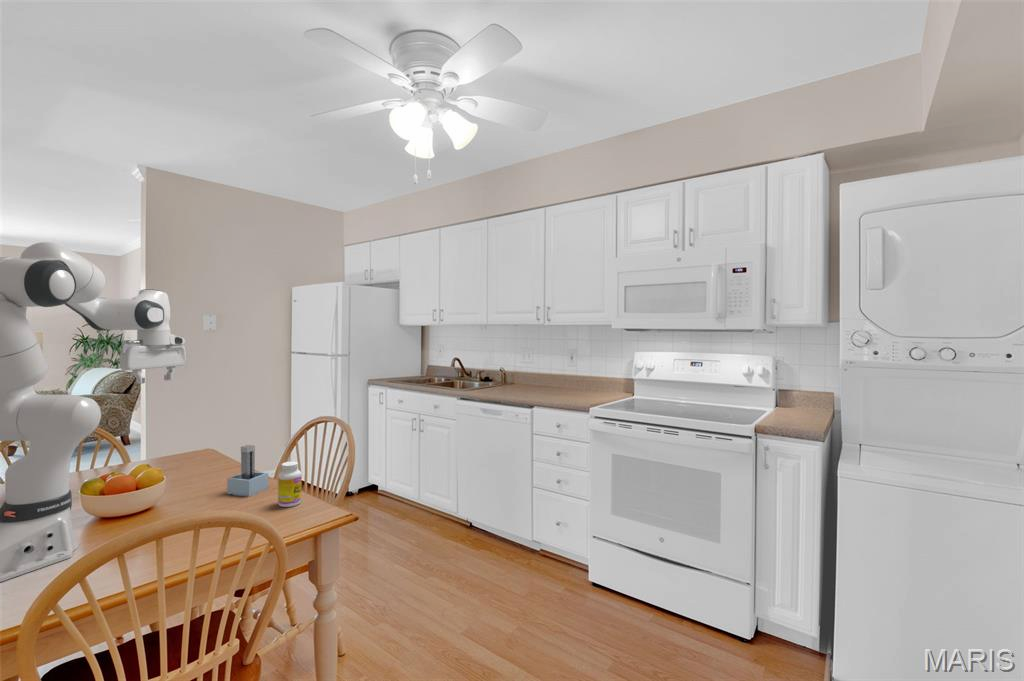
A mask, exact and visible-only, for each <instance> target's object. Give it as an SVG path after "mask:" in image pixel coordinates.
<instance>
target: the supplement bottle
mask: <svg viewBox="0 0 1024 681" xmlns="http://www.w3.org/2000/svg"><path fill="white" fill-rule="evenodd" d="M298 468H299V462H298V461H285V462H283V463H281V470H282V471H280V472H279V473H278V476H277V490H278V492H277V503H278V506H279V507H283V508H290V507H291V508H292V507H295V506H298V505H300V503H301V502H302V472H301V470H299V469H298Z"/></svg>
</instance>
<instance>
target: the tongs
mask: <svg viewBox="0 0 1024 681" xmlns="http://www.w3.org/2000/svg"><path fill="white" fill-rule="evenodd" d="M255 451H256V445H253V444H246V445H242V446H240V456H241V457H240V465H241V466H240V468H241V469H240V470H241V471H240V473H241V479H247V480H250V479H252V478H255V472H256V471H255V470H256V469H255V466H256V465H255V456H256V455H255V454H256V452H255Z"/></svg>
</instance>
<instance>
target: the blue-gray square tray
mask: <svg viewBox="0 0 1024 681" xmlns="http://www.w3.org/2000/svg"><path fill="white" fill-rule="evenodd" d="M226 482H227V483H226V485H227V488H226V489H227V495H230V494H233V495H232V496H238V497H239V496H241V497H249V498H250V497H252V496H255V495H256V494H259V493H260V492H263V491H265V490H268V489H269V472H264V471H263V472H262V471H255V478H252V479H250V480H247V479H241V472H240V473H238V474H236V475H233V476H231V477H228V478H227V479H226Z"/></svg>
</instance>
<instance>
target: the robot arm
mask: <svg viewBox="0 0 1024 681" xmlns="http://www.w3.org/2000/svg"><path fill="white" fill-rule="evenodd" d="M105 287H106V275H105V273H103V271H102V270H101V269H100V268H99V267H98V266H97V265H96V264H94V263H93V262H92V261H90V260H88V259H86V258H85V257H84V256H82V255H80V254H78V253H77V252H75V251H73V250H71V249H69V248H66V247H64V246H61V245H59V244H57V243H54V242H48V241H47V242H46V241H42V242H36V243H33V244H31V245H29V246H27V247H26V248H25V249H24V250H23V252H22V253H21V254H20V257H15V256H0V442H17V441H18V442H19V441H20V442H22V441H25V442H26V441H27V442H28V441H29V448H28V452H27V453H26V454H25V455H24V456H22V457H20V458H18V459H17V460H15V461H13V462H12V463H11V464H10V465H9V466H8V467H7V468H6V470H5V472H4V478H5V479H4V487H5V490H4V492H5V496H4V497H5V501H4V502H3V503H2V505H1V507H0V583H1V582H4V581H7V580H10V579H13V578H16V577H18V576H22V575H25V574H27V573H29V572H33V571H36V570H39V569H41V568H45V567H47V566H50V565H53V564H55V563H58V562H61V561H62V562H63V561H64V560H68V559H70V558H72V556H73V555H74V554H73V552H74V551H75V550H76V549H77V548H78V547H79V546H80V543H79V540H78V539H77V536H76V533H75V530H74V525H73V521H72V513H71V510H72V506H73V500H72V499H73V496H72V495H73V494H72V490H70V466H71V460H72V456H73V455H74V452H75V450H76V448H77V447H78V446H79V444H80V443H81V442H82V441H83V440H84V439H85V438H86V437H89V436H90V435H91V434H92V433H93V432H95V430H96V429H97V427H98V426H99V424H100V423H101V419H102V411H101V407H100V405H99V404H98V402H97V401H96V400H94V399H93V398H91V397H86V396H81V395H77V394H75V395H74V394H40V393H37V392H36V391H35V389H34V385H37V383H40V382H41V381H42V380H43V379H44V378H45V376H47V374H48V372H49V364H48V362H47V360H46V356H45V355H44V352H43V349H42V348H41V345H40V342H39V339H38V337H37V335H36V333H35V331H34V329H33V327H32V326H31V323H30V322H29V321H28V319H27V308H32V307H33V308H36V307H42V308H52V307H58V306H62V305H65V306H66V307H68V308H69V309H71V310H72V311H74V313H76V314H77V315H79V316H80V317H82V318H83V319H84V321H85V322H86V323H87V324H88V325H89V326H90V327H91V328H92V329H93V330H96V331H100V332H102V331H103V332H104V331H136V334H137V335H136V339H135V340H126V341H125V342H123V343H122V344H121V351H120V355H119V356H120V358H119V368H120V369H121V370H122V371H131V372H132V374H133V377H135V379H136V380H135V382H136V384H138V385H140V384H145V383H146V377H143V376H142V375H141V374H142V373H143V371H142V370H147V369H148V370H149V369H159V368H166V370H167V372H166V374H164V375H163V377H164V378H163V380H164V381H172V380H173V375H174V374H175V371H176V367H181V366H182V367H183V366H185V364H186V362H187V352H186V350H187V349H186V347H185V343H186V339H185V338H184V337H181V336H179V335H175V334H172V333H171V327H170V321H171V304H170V299H169V296H168V293H166V292H165V291H163V290H158V289H154V288H153V289H151V288H150V289H149V288H147V289H146V288H143V289H140V290H139V291H138V295H136V296H135V297H131V298H108V297H107V298H106V297H99V296H100V295H101V294H102V293H103V292H104V290H105Z"/></svg>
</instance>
